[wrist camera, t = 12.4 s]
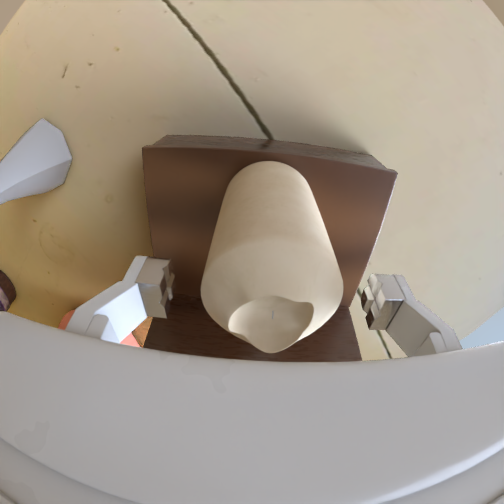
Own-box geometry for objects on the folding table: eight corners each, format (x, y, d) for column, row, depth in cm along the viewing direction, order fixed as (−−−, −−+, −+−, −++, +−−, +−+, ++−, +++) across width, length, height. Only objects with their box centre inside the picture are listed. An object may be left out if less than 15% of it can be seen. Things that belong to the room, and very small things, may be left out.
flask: (14, 154, 19) (-53, 200, 11) (44, 104, 16) (-39, 139, 8) (50, 202, 22) (-10, 261, 14) (84, 158, 20) (9, 215, 12)
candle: (305, 239, 19) (329, 368, 11) (225, 235, 19) (201, 364, 11) (317, 163, 16) (373, 271, 8) (224, 157, 16) (184, 262, 8)
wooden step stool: (163, 132, 19) (68, 206, 9) (375, 153, 19) (466, 242, 9) (178, 304, 30) (151, 405, 20) (325, 315, 30) (341, 417, 20)
